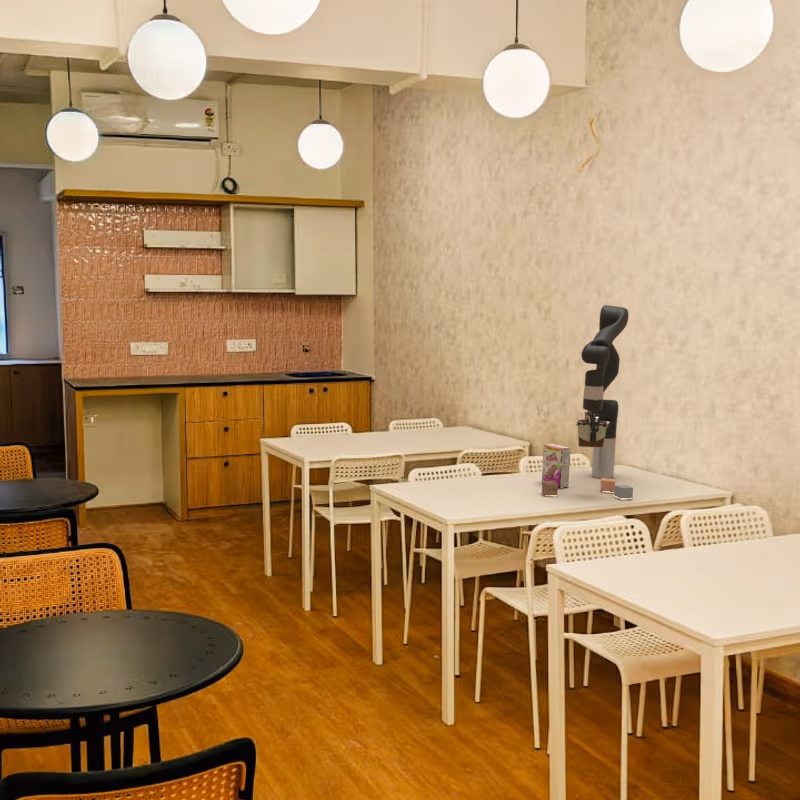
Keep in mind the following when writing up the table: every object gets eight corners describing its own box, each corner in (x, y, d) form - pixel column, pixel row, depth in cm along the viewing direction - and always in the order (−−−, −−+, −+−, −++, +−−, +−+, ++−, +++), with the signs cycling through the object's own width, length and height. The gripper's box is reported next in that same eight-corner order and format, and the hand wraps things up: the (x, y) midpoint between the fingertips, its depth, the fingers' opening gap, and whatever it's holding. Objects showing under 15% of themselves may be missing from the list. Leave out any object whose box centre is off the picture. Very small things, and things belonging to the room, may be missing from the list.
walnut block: (541, 493, 394) (542, 481, 394) (554, 494, 395) (555, 481, 394) (544, 496, 389) (545, 484, 389) (557, 496, 390) (557, 484, 389)
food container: (605, 445, 394) (606, 419, 392) (607, 448, 388) (608, 422, 386) (573, 443, 395) (574, 418, 393) (574, 446, 389) (576, 420, 387)
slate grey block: (614, 497, 391) (614, 485, 391) (625, 497, 393) (626, 484, 392) (620, 500, 387) (621, 487, 386) (632, 500, 388) (633, 487, 388)
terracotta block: (600, 490, 404) (601, 478, 404) (613, 491, 404) (613, 478, 403) (601, 493, 399) (602, 480, 399) (614, 493, 399) (615, 481, 398)
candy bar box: (540, 483, 413) (543, 444, 411) (550, 482, 416) (552, 443, 414) (559, 488, 404) (562, 448, 402) (569, 487, 407) (571, 447, 405)
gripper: (579, 394, 395) (576, 437, 397) (588, 399, 381) (585, 443, 383) (598, 395, 395) (595, 437, 398) (607, 400, 381) (605, 444, 383)
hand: (590, 440), depth 390 cm, fingers closed on food container, 5 cm apart
